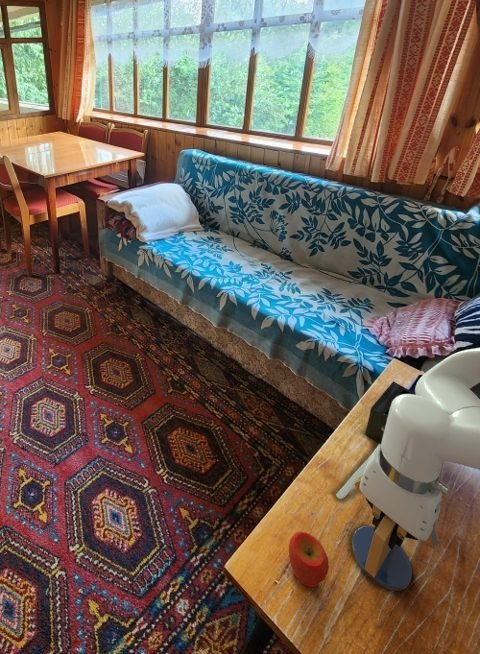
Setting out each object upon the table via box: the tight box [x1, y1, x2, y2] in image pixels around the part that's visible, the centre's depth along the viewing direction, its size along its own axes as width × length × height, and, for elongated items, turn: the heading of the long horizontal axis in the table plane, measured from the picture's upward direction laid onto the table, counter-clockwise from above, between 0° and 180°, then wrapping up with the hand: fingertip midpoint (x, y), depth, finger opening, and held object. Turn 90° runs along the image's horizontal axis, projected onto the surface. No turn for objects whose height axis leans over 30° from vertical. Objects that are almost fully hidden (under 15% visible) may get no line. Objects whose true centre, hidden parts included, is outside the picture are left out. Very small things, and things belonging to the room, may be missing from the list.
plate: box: [351, 525, 413, 592], centre depth 68 cm, size 9×9×1 cm
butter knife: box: [335, 443, 381, 500], centre depth 84 cm, size 1×27×3 cm
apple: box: [288, 530, 330, 588], centre depth 66 cm, size 6×6×8 cm
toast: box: [365, 514, 397, 578], centre depth 66 cm, size 10×2×10 cm, turn 125°
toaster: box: [364, 381, 416, 445], centre depth 88 cm, size 13×8×9 cm, turn 125°
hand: (386, 535), depth 66 cm, fingers closed on toast, 1 cm apart
